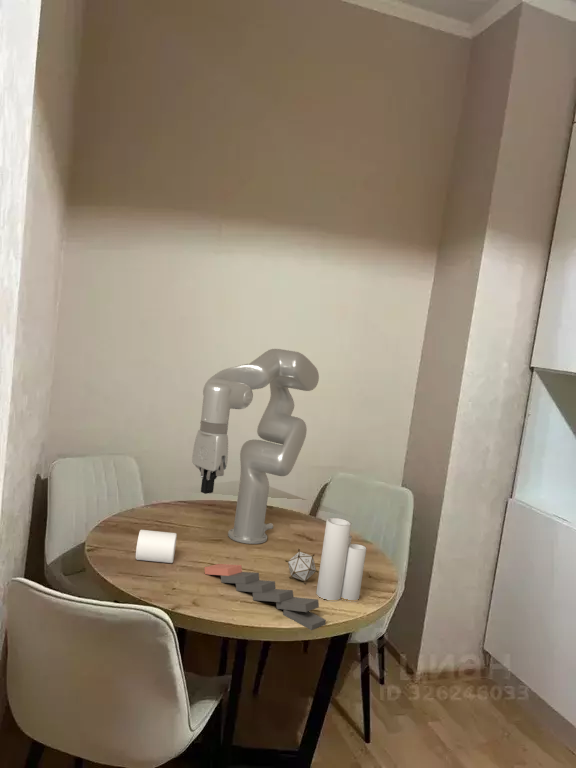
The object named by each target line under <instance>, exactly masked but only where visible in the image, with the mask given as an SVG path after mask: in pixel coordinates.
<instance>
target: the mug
mask: <svg viewBox="0 0 576 768" xmlns="http://www.w3.org/2000/svg"><path fill="white" fill-rule="evenodd" d="M177 535H178V534H177V533H176V532H169V531H168V532H167V531H157V530H147V529H140V530H139V533H138V537H137V542H136V546H135V547H136V548H135V549H136V550H135V559H136V560H138V561H147V562H148V561H149V562H158V563H166V564H172V563H173V562H174V560H175V553H176V547H177V545H176V544H177Z"/></svg>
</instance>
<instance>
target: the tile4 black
mask: <svg viewBox="0 0 576 768" xmlns="http://www.w3.org/2000/svg"><path fill="white" fill-rule="evenodd" d="M294 597H295V596H294V590H293V589H280V588H279V589H278V588H276V589H273V590H270V591H267V592H264V593H256V592H252V600H253V601H259V602H260V601H261V602H272V603H273V602H274V603H276V602H282V601H285V600H288V599H291V598H294Z"/></svg>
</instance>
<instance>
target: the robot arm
mask: <svg viewBox="0 0 576 768" xmlns="http://www.w3.org/2000/svg"><path fill="white" fill-rule="evenodd" d="M319 380H320V376H319V371H318V368H317V366H315V365H314V364H313V362H312V361H311V360H310V359H309V358H308V357H306V356H305V355H304V354H303V353H301V352H299V351H295V350H289V349H288V350H287V349H281V348H270V349H268V350H267V351H265V352H264V353H262V354H261V355H259V356H258V357H257V358H255V359H254V360H253V361H251V362H250V363H244V364H240V365H237V366H232V367H228V368H225V369H222V370H220V371H217V373H215V374H213V375H212V376H211V377H210V378H209V379H208V380H207V381H206V382H205V384H204V386H203V389H202V395H203V399H202V408H201V418H200V427H199V429H198V430H197V433H196V437H195V441H194V445H193V449H192V457H191V463H192V464H193V465H194V466H195V468H197V469H198V470H199V472H200V478H201V486H200V492H201V493H203V494H205V495H206V494H212V493H214V488H215V480H217V478H218V477H224V475H225V470H226V469H227V465H228V458H229V436H228V428H229V420H230V410H244V409H246V408H248V407H249V406H250V404H251V403H252V402H253V399H254V392H253V390H260V389H263V388H265V387H267V386H268V385H269V388H270V390H269V391H270V398H269V401H268V403H267V406H266V407H265V410H264V412H263V414H262V416H261V419H260V421H259V423H258V425H257V430H256V432H257V435H258V437H259V438H260V439H248V440H247V441H245V442H244V443H243V444H242V446H241V448H240V453H239V455H240V456H239V458H240V459H239V460H240V463H239V464H240V478H239V484H238V485H239V486H238V494H237V502H236V508H235V509H236V510H235V515H234V521H233V522H234V525H233V528H231V529H229V530H228V531H227V536H228V537H229V539H231V540H232V541H234V542H237V543H241V544H246V545H247V544H248V545H249V544H250V545H259V544H263V543H266V542H267V540H268V535H267V534H266V532H267V530H272V529H273V528H274V524H273V523H272V522H271V523H265V521H266V514H267V507H268V498H269V492H270V482H269V478H268V476H267V474H269V475H274V476H277V477H286V476H288V475H290V473H291V472H292V471H293V469H294V466H295V464H296V462H297V460H298V457H299V454H300V453H301V450H302V448H303V446H304V443H305V440H306V436H307V425H306V424H307V423H306V422H305V420H304V419H302V418H300V417H297V416H293V415H292V414H293V412H294V409H295V402H294V401H295V400H294V398H293V396H292V393H291V392H290V389H293V390H298V391H304V392H312V391H313V390H314V389H316V387H317V386H318V384H319Z"/></svg>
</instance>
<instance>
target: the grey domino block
mask: <svg viewBox="0 0 576 768" xmlns="http://www.w3.org/2000/svg"><path fill="white" fill-rule="evenodd" d="M282 615H283V616H284V617H286V618H289V619H290V620H292V621H293V620H294V622H295V623H297V624H299V625H301V626H302V627H305V628H306V629H308V630H310V631H313V630H316V629H319V628H321V627H324V626H325V625H326V620H327V619H325V618H323V617H321V616H319V615H317V614H315V613H314V612H312V611H311V610H310V611H308V612H301V611H292V610H284V609H283V613H282Z"/></svg>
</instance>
